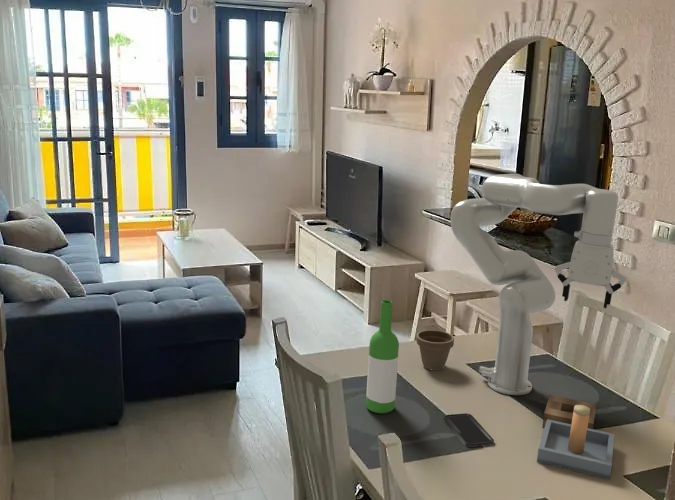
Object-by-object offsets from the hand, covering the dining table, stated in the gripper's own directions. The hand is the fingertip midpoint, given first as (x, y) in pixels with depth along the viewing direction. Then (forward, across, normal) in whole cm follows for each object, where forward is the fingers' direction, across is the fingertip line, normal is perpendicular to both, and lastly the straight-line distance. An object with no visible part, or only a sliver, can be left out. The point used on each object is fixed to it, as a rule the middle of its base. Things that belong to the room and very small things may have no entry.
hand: (585, 303), depth 177 cm
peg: (+31, +4, -20) cm, 37 cm away
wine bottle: (+33, -46, -22) cm, 60 cm away
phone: (+33, -22, -22) cm, 45 cm away
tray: (+32, +4, -20) cm, 38 cm away
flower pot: (+33, -42, +12) cm, 55 cm away
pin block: (+32, +1, -4) cm, 32 cm away
